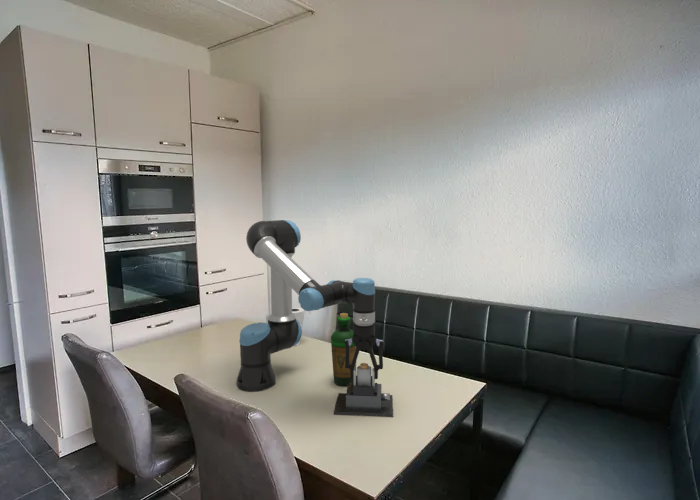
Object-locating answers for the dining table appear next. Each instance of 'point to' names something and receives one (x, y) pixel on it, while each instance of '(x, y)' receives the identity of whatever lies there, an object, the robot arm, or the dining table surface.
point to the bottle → (342, 351)
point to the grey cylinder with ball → (363, 375)
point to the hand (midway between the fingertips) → (364, 387)
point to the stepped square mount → (364, 401)
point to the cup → (298, 317)
